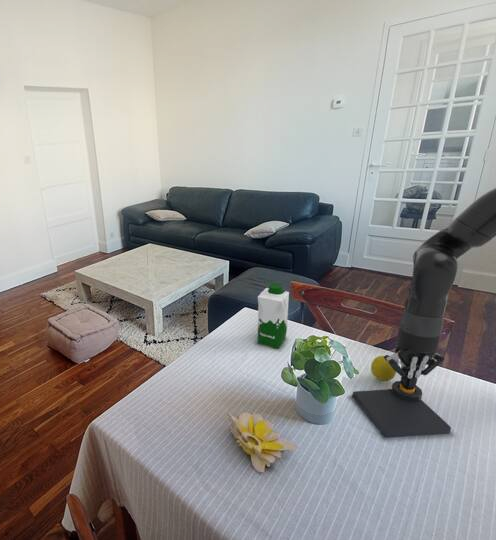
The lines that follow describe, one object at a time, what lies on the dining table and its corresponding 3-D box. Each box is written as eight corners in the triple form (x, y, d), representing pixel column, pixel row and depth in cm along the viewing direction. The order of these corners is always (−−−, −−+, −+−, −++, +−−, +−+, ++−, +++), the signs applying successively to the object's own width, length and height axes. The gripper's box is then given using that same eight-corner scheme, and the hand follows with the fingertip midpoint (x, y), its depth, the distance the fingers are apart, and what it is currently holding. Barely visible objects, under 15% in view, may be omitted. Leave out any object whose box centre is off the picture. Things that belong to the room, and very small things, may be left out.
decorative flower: (308, 467, 70) (299, 431, 67) (260, 490, 69) (248, 455, 66) (269, 418, 84) (259, 387, 81) (228, 437, 83) (217, 406, 80)
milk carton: (288, 338, 116) (292, 285, 109) (280, 351, 110) (282, 296, 103) (263, 331, 122) (265, 281, 115) (253, 343, 116) (254, 291, 109)
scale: (408, 390, 89) (410, 379, 88) (453, 433, 76) (457, 421, 74) (350, 394, 90) (351, 384, 88) (385, 437, 77) (387, 425, 75)
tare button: (408, 387, 87) (409, 382, 86) (416, 395, 84) (418, 390, 83) (396, 388, 87) (397, 383, 86) (404, 396, 84) (405, 391, 84)
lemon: (398, 387, 90) (403, 362, 87) (375, 387, 91) (379, 362, 88) (387, 374, 95) (391, 350, 93) (365, 373, 96) (369, 350, 94)
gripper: (402, 338, 76) (390, 399, 82) (463, 333, 75) (447, 396, 81) (380, 321, 83) (370, 379, 89) (436, 317, 82) (423, 375, 88)
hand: (407, 387), depth 85 cm, fingers closed
